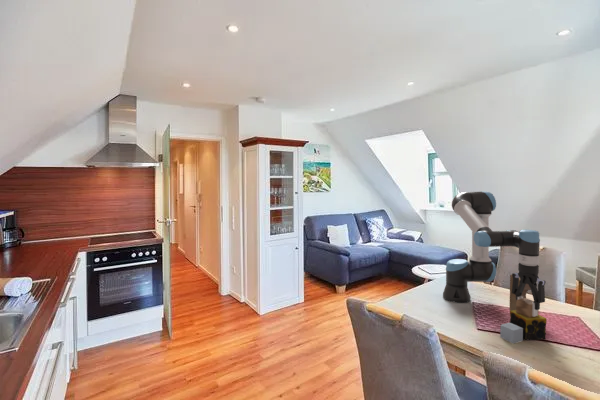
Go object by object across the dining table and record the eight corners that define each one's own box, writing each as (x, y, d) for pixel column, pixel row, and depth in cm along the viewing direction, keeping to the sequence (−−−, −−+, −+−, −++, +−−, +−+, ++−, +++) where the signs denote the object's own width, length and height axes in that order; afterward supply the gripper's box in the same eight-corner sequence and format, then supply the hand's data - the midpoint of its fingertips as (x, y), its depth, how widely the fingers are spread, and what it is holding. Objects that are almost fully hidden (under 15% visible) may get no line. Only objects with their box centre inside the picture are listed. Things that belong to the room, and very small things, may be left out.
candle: (508, 330, 150) (508, 310, 149) (528, 329, 151) (528, 308, 150) (525, 341, 140) (526, 319, 139) (546, 339, 141) (547, 318, 140)
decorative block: (533, 318, 161) (534, 280, 160) (522, 318, 161) (522, 280, 160) (519, 309, 172) (520, 274, 171) (508, 309, 172) (509, 274, 171)
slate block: (500, 337, 144) (500, 324, 143) (509, 335, 146) (509, 322, 145) (513, 343, 138) (513, 330, 138) (522, 341, 140) (522, 328, 140)
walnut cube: (516, 312, 147) (516, 299, 146) (525, 310, 148) (525, 298, 148) (529, 317, 141) (529, 304, 140) (538, 315, 143) (538, 302, 142)
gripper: (502, 259, 151) (502, 306, 152) (545, 270, 133) (543, 323, 135) (513, 258, 153) (512, 304, 155) (556, 268, 136) (555, 320, 137)
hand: (527, 312), depth 145 cm, fingers closed on walnut cube, 6 cm apart
